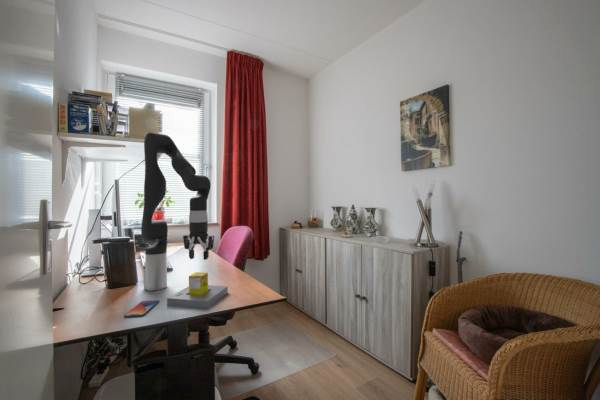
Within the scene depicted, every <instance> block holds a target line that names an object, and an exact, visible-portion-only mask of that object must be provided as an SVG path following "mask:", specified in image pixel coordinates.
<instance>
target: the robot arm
mask: <svg viewBox="0 0 600 400" xmlns="http://www.w3.org/2000/svg"><path fill="white" fill-rule="evenodd" d="M143 148H144V149H143V150H144V166H145V167H144V185H143V210H142V211H143V213H142V220H141V230H140V231H141V238H142V239H143V240H144V241H150V240H156V241H155V242H154V243H153V244H151V245H149V246H147V247H145V249H144V252H145V258H144V259H145V260H144V265H145V264H146V269H145V268H144V269H143V289H144V290H146V291H160V290H162V289H165V288H167V287H168V273H167V272H168V271H167V270H168V269H167V268H168V265H167V264H168V263H167V262H168V261H167V259H168V258H167V257H168V255H167V250H168V249H167V247H168V235H169V234H168V228H169V227H168V224H167V221H166V220H163V219H158V220H157V219H156V220H153V216H154V214H155V211H156V209H157V208H158V206H159V205H160V204H161V202H162V201H163V200H164V199H165V197H166V194H167V193H166V192H167V180H166V177H165V175H164V173H163V171H162V170H161V168H160V167H159V163H158V154H163V155H164V154H165V155H166V156H168V157H169V158H170V159H171V160H170V161H171V167H172V168H173V170H174V171H175V173H176V174H177V175H178V176H179V177H180V178H181V180H182V182H183V184H184V187H185V188H186V189H187V190H189V191H191V192H196V195H195V196H193V197H191V198H190V199H189V215H188V217H189V218H188V222H189V223H188V224H189V227H188V229H189V230H188V231H189V234H185V235H183V236H182V239H183V245H184V249H185V250H188V258H189V259H190V260H193V259H195V247H196V245H200V246H201V248H202V249H203V260H204V261H206V260H208V258H209V257H210V256H209V251H211V250H212V249H214V242H215V235H210V234H208V227H209V226H208V225H209V224H208V221H209V220H208V218H209V216H208V203H207V201H208V199H209V196H210V195H209V194H210V190H211V181H210V179H209V177H208V176H206V175H199V174H197V171H196V168H195V167H194V166H193V165H192V164H191V163H190V162H189V161H188V160H187V159H186V158H185V156H183V154H182V152H181V151H180V150H179V148H178V146H177V145H176V144H175V142H174V140H173V139H172V138H171V136H169V135H167V134H164V133H159V132H154V131H153V132H152V131H149V132H147V133H146V134H145V137H144V140H143Z"/></svg>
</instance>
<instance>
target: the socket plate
mask: <svg viewBox="0 0 600 400" xmlns="http://www.w3.org/2000/svg"><path fill="white" fill-rule="evenodd" d="M228 287H229V286H224V285H210V284H208V293H206V294H204V295H203V296H197V295H189V285H188V286H187V287H185V288H183V289H181V290H179V291H177V292H176V293H174V294H172V295H171V296H170V295H169V297H166V305H167V306H171V307H180V308H181V307H183V308H195V309H203V308H204V310H205V309H206V310H207V309H209V308H210V307H211V306H212V305H214V304H215V303H216V302H217V301H219V300H220V299H221V298H223V297H224V296H226V294H227V295H228V291H229V288H228Z"/></svg>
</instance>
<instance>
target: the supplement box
mask: <svg viewBox="0 0 600 400" xmlns="http://www.w3.org/2000/svg"><path fill="white" fill-rule="evenodd" d="M208 274H209V273H208V272H201V271H200V272H198V271H197V272H196V271H195V272H194V273H191V274H190V275H188V286H189V295H197V296H203V295H204V294H206V293H208V285H209V275H208Z"/></svg>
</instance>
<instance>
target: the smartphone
mask: <svg viewBox="0 0 600 400" xmlns="http://www.w3.org/2000/svg"><path fill="white" fill-rule="evenodd" d="M159 303H160V300H159V299H157V300H156V299H155V300H142V301H140V302H139V303H138V304H136V305H134V307H133V308H131V309H129V310H128V311H127V312H126V313H124V314H123V318H124V319H128V318H142V317H146V315H147V314H148V313H150V312H151V310H153V309H154V307H156V306H157V305H158V304H159Z"/></svg>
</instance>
